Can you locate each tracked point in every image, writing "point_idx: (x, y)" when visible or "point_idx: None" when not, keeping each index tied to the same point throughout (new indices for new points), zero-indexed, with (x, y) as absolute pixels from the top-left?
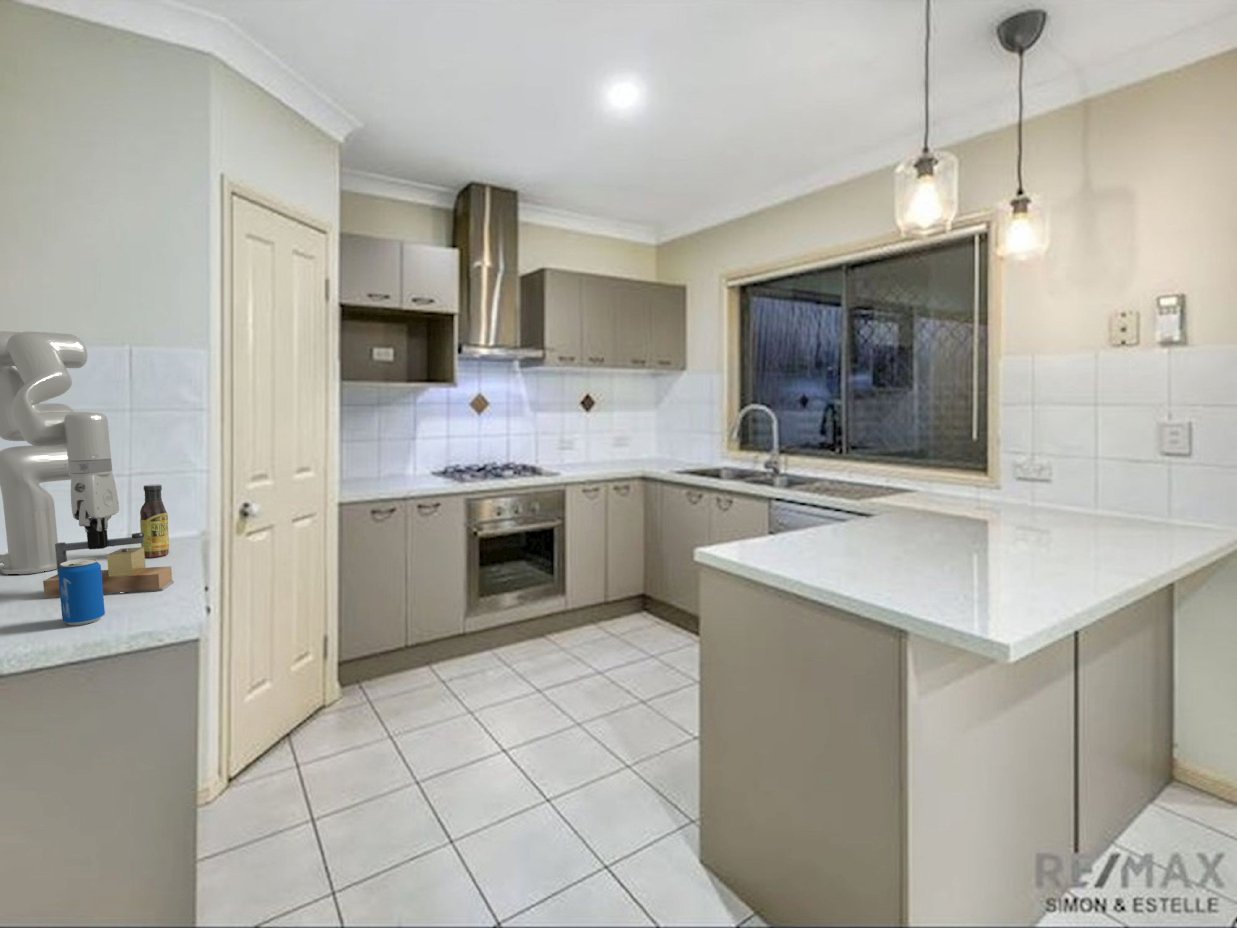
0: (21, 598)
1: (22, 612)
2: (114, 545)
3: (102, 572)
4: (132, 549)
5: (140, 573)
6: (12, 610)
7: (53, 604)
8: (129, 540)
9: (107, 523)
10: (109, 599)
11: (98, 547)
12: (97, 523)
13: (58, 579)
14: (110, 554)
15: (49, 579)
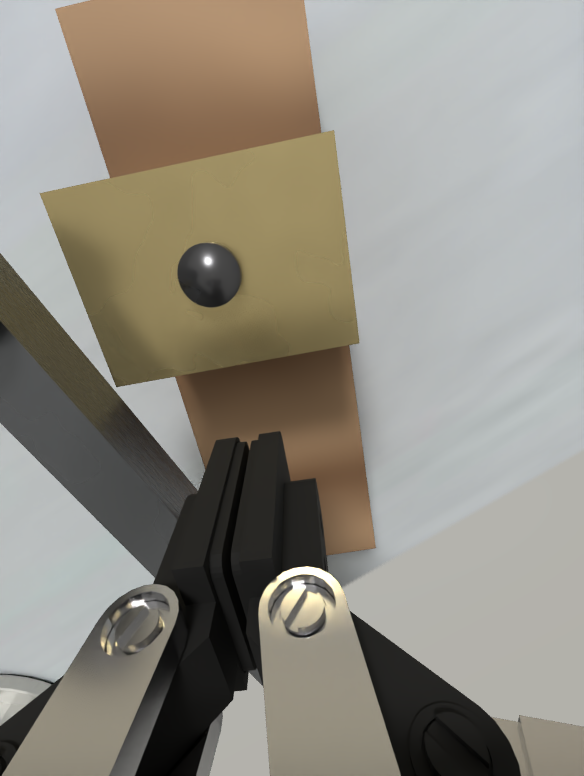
0: (346, 561)
1: (524, 455)
2: (144, 429)
3: (242, 400)
4: (148, 249)
5: (271, 137)
6: (488, 499)
7: (443, 420)
8: (42, 344)
9: (67, 679)
10: (415, 232)
11: (286, 473)
12: (379, 725)
13: (359, 508)
14: (346, 323)
15: (353, 540)
